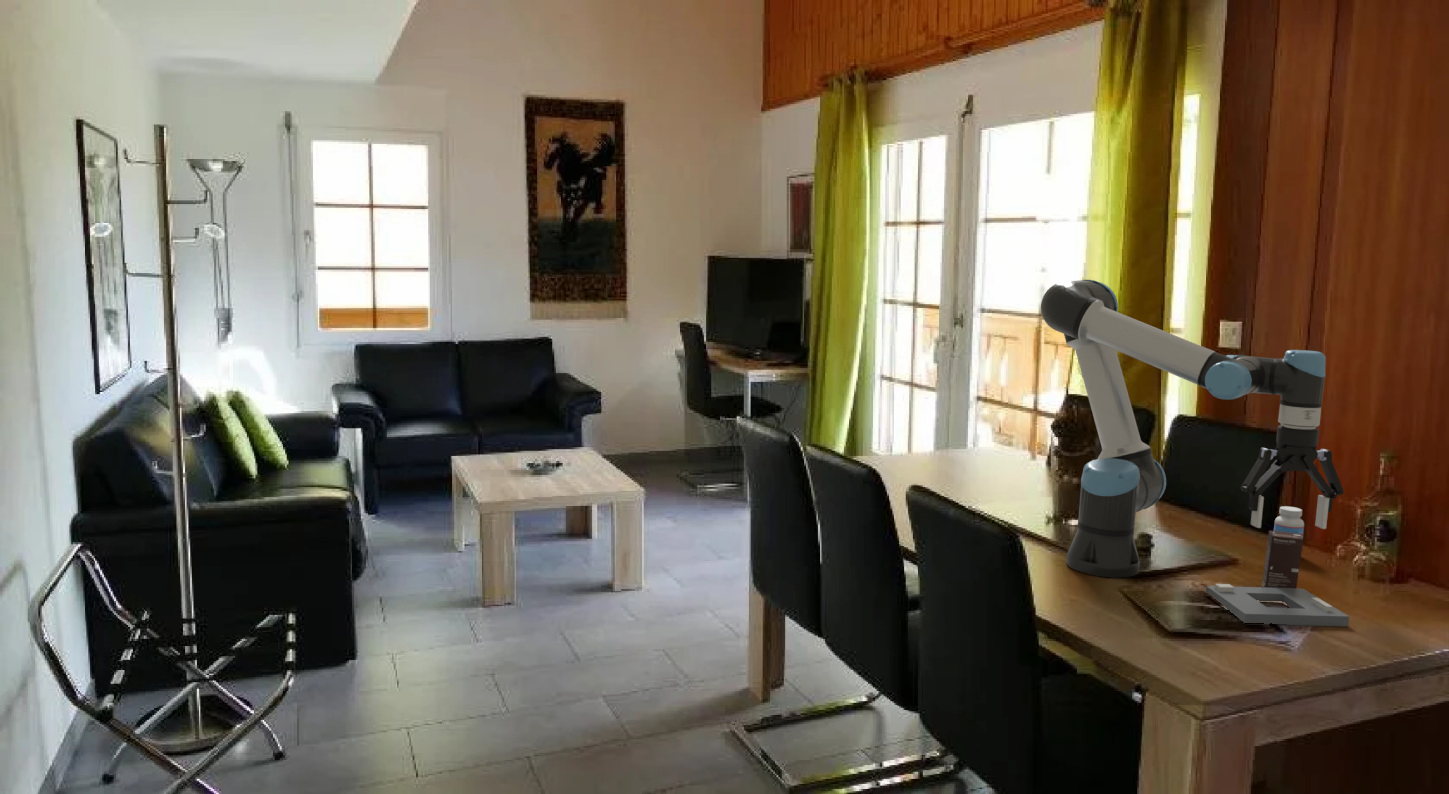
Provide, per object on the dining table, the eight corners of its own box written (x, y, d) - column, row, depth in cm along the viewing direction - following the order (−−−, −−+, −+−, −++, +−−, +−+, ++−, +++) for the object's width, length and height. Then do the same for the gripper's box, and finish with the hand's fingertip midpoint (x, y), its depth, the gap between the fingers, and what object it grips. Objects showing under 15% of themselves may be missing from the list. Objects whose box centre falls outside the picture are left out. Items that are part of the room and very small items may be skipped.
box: (1265, 591, 222) (1271, 535, 220) (1261, 584, 226) (1267, 529, 224) (1297, 594, 220) (1304, 538, 218) (1293, 588, 224) (1299, 533, 222)
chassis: (1244, 623, 202) (1245, 608, 201) (1205, 595, 217) (1206, 581, 217) (1348, 626, 202) (1350, 611, 202) (1301, 597, 218) (1303, 583, 217)
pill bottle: (1304, 560, 244) (1309, 513, 242) (1275, 558, 245) (1281, 510, 244) (1295, 552, 250) (1301, 506, 248) (1267, 550, 251) (1273, 504, 250)
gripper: (1247, 428, 213) (1237, 530, 217) (1370, 430, 214) (1358, 532, 217) (1229, 421, 221) (1220, 520, 224) (1347, 424, 221) (1336, 523, 224)
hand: (1288, 526), depth 220 cm, fingers open, 13 cm apart
